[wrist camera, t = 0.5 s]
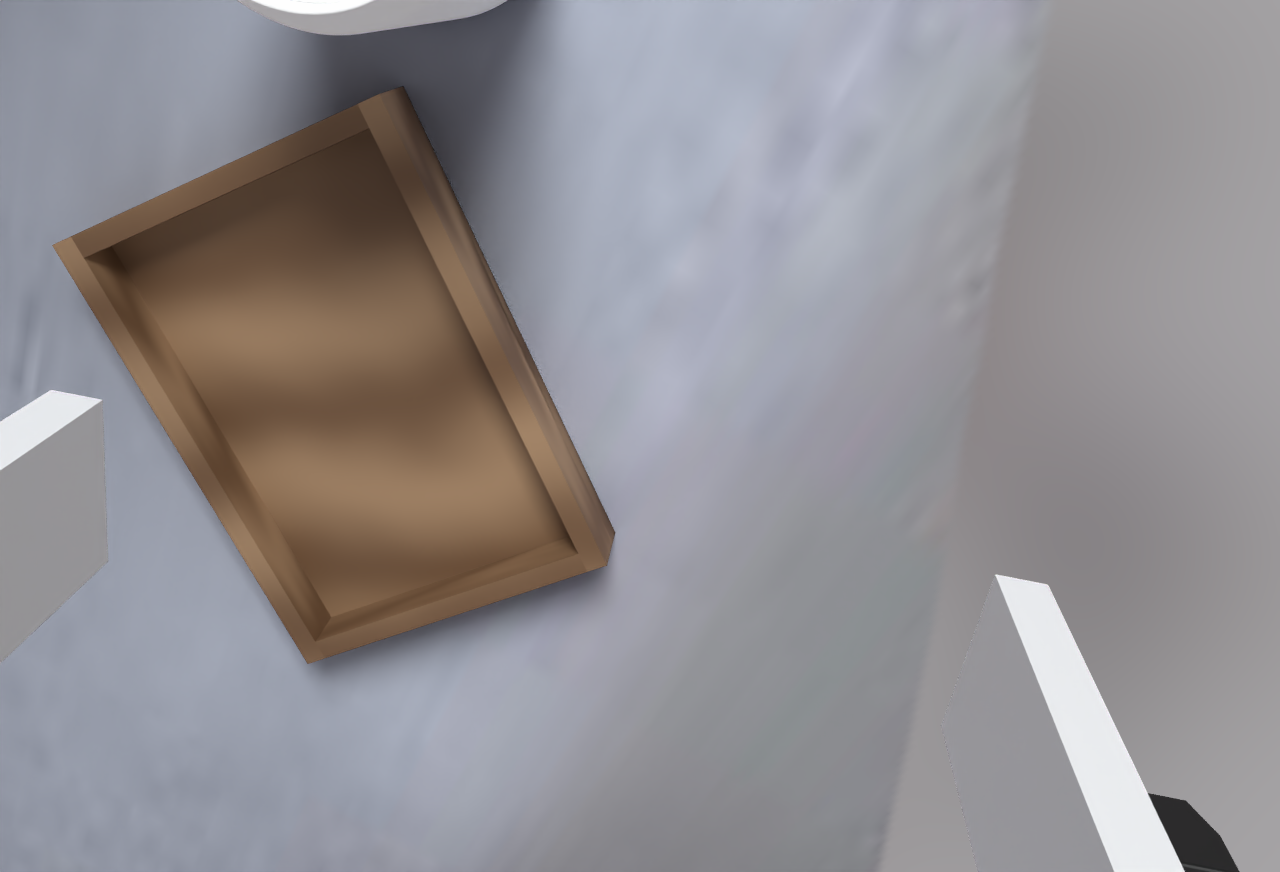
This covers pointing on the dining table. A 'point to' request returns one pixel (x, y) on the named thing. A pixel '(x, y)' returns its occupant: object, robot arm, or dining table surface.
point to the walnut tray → (346, 381)
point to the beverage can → (365, 13)
